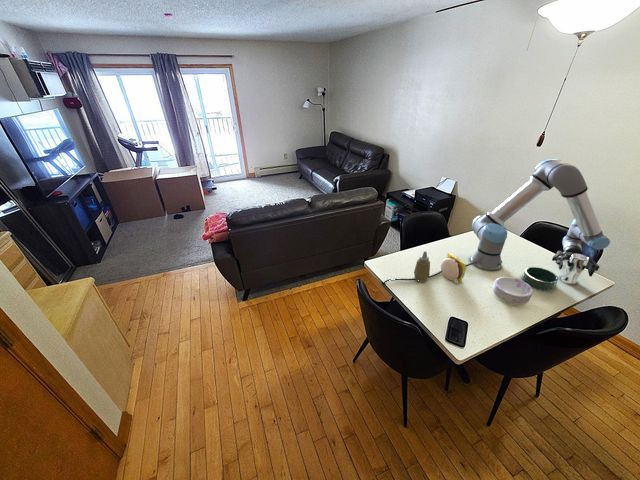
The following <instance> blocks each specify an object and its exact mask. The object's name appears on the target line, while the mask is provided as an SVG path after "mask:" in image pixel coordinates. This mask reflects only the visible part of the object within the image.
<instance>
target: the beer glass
mask: <svg viewBox="0 0 640 480" xmlns="http://www.w3.org/2000/svg"><path fill="white" fill-rule="evenodd" d="M588 257H589V256H587V255H586V254H585V255H584V254H583V255H582V254H577V253H574V254H572V255H571V257H570V258H569V260H567V262H566V265H565V271H564V273H563V274H562V276H561V277H560V280H561V282H563V283H565V284H568V285H575V284H577V281H578V278H579V276H580V275H581V274H582V273H583V272H584V271H585V269H586V268H587V267H586V266H587V263H588V261H589V258H588Z"/></svg>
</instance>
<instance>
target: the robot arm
mask: <svg viewBox="0 0 640 480" xmlns="http://www.w3.org/2000/svg"><path fill="white" fill-rule="evenodd" d="M553 188H555V189H556V190H557V191H558V192H559V194H560V196H561V197H562V198H564V199H565V200H566V203H567V205H568V207H569V209H570V211H571V213H572V216H573V218H574V219H573V221H572V222H571V223H570V226H569V229H568V230H567V233H566V235H565V236H564V237H563V238H562V241H561V243H562V247H563V248H562V249H563V251H562V250H561V249H559V250H557V252H556V253H555V254H554V255H553V256H552V258H551V261H552V262H555V264H557V265H558V269H559V270H562V269H563V267H564V261H568V260H569V258H570V257H571V255H572V254H574V253H577V254H582V255H584V253H583V247H582V243H584V244H586V245H587V246H588V247H589V248H592V249H594V250H597V251H600V250H604V249H606V248H607V247H609V245H610V244H611V240H610V239H609V237H607V236H606V235H604V232H603V230H602V229H601V225H600V223H599V220H598V218H597V216H596V213H595V210H594V208H593V206H592V203H591V201H590V198H589V196H588V193H587V192H588V190H589V188H588V186H587V183H586V180H585V177H584V176H583V173H582V172H581V171H580V169H579V168H577V166H576V165H573V164H570V163H568V162H565V161H563V160H561V159H556V158H549V159H545V160H542V161H540V163H538V164H537V165H536V167H535V168H534V172H533V173H532V174H531V175H530V176H529V181H527V182H526V183H525V184H524V185H522V187H520V188H519V189H518V190H517V191H515V192H514V193H513V194H512V195H511V196H509V197H508V198H507V199H506V200H504V202H502V203H501V204H500V205H499V206H498V207H496V208H494V210H493V211H489V212H486V213H485V214H482V215H478V216H476V217H475V218H474V219H473V220H472V223H471V228H472V232H473V233H474V234H475V235H476V237H477V238H478V240H479V243H478V246H477V249H476V251H474V253H473V254H472V256H471V257H470V263H468V264H466V267H465V268H467V267H469V266H471V265H473V266H475V267H477V268H478V269H482V270H485V271H497V270H499V269H500V268H501V266H502V264H503V260H502V257H501V256H502V255H501V254H502V251H503V249H504V246H505V244H506V240H507V238H508V230H507V228H506V227H504V226H505V222H506V221H508V220H509V219H510V218H511V217H512V216H514V215H516V214H517V212H519V211H520V210H522V209H523V208H524V207H526V205H528V204H529V203H530V202H532V200H535V198H537V197H538V196H539V195H540V194H542V193H543V192H546V191H550V190H552V189H553ZM587 257H588V258H589V261H588V263H587V266H586V268H587V273H588V276H589V277H590V278H592V277H593V275H594V273H595V272H598V271H599V269H600V265H599V264H598V263H597V262H596V261H594V259H593V257H592V256H587ZM440 274H443V273H442V271H441V270H440V271H438V272H436V273H434V274H432V275H429V277H428V279H430V278H433V277H436V276H438V275H440ZM391 279H392V278H390V279H386V280H385V281H383V282H382V283H381V285H385V284H386V283H388V282H393V281H417V280H416V279H415V278H401V279H397V278H394V279H395V280H391ZM389 280H391V281H389ZM387 281H388V282H387ZM385 282H386V283H385Z"/></svg>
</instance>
